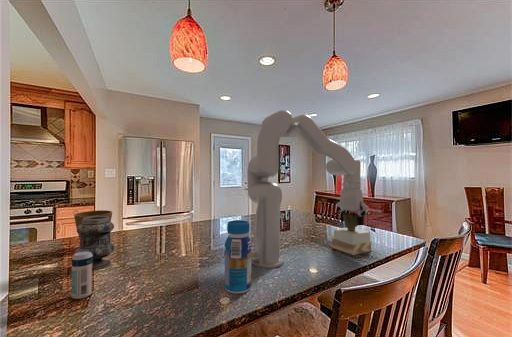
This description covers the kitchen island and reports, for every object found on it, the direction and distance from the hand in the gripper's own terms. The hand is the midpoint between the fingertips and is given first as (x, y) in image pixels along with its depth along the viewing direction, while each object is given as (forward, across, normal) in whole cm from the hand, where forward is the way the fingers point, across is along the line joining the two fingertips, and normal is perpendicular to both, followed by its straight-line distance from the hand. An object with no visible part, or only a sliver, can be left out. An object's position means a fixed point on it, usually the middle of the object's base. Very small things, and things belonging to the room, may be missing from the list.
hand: (351, 223), depth 113 cm
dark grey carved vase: (+12, -31, -102) cm, 107 cm away
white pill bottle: (+12, -6, -103) cm, 104 cm away
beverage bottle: (+12, +10, -62) cm, 64 cm away
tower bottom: (+12, -1, 0) cm, 13 cm away
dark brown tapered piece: (+4, 0, 0) cm, 4 cm away
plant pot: (+12, -58, -105) cm, 121 cm away
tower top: (+8, 0, 0) cm, 8 cm away
